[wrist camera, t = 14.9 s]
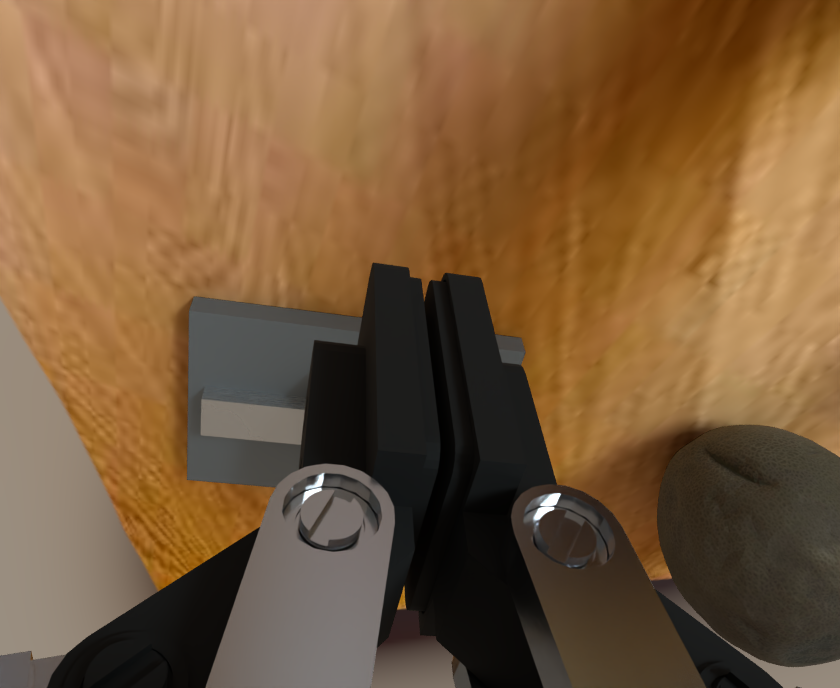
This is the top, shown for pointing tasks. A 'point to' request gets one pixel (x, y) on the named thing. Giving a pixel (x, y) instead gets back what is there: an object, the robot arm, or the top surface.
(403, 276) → the robot arm
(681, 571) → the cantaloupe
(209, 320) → the board
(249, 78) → the top surface
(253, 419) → the steel rail
